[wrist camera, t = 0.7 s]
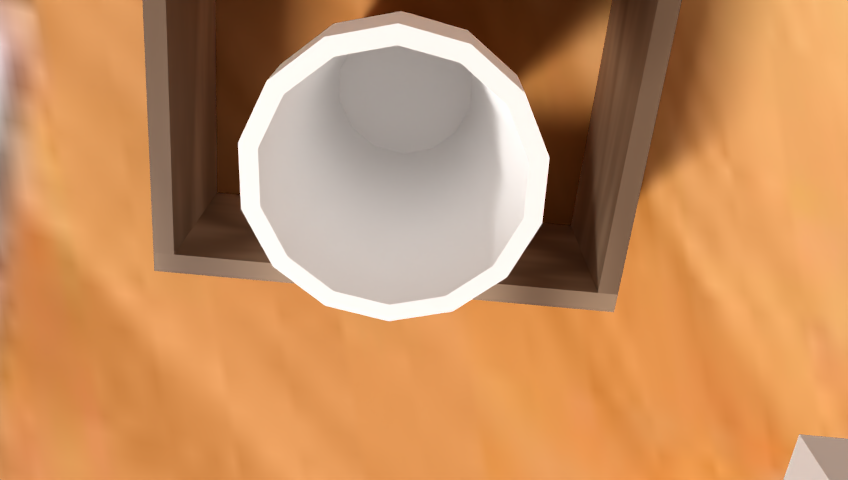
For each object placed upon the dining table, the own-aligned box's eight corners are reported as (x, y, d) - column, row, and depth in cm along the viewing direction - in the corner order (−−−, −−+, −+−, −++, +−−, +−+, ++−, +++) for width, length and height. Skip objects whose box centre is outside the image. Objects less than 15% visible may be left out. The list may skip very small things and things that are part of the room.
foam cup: (360, -67, 34) (321, -39, 22) (549, 40, 35) (608, 120, 24) (268, 127, 37) (191, 242, 25) (445, 217, 39) (450, 364, 27)
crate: (200, 206, 39) (154, 270, 32) (195, -100, 33) (138, -96, 27) (584, 242, 39) (613, 311, 33) (641, -54, 34) (690, -39, 27)
